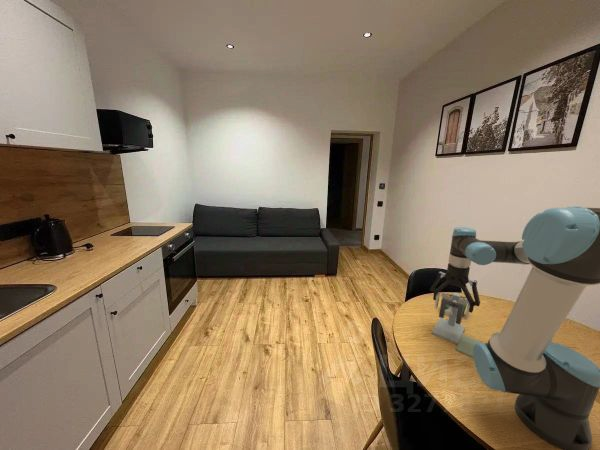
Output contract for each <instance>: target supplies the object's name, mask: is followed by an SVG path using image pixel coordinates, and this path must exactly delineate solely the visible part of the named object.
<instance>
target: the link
mask: <svg viewBox="0 0 600 450" xmlns="http://www.w3.org/2000/svg"><path fill="white" fill-rule="evenodd" d="M446 305H449V306H452V307H455V308H458V312H457V317H456V322H455V323H456V324H459V325H461V323H462V318H463V317H462V314H463V308H464V305H462V304H459V303H456V302H453V301H450V300H447V299H444V298H443V297H441V300H440V307H439V313H438V317H439V318H443V319H444V317H445V307H446Z"/></svg>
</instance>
